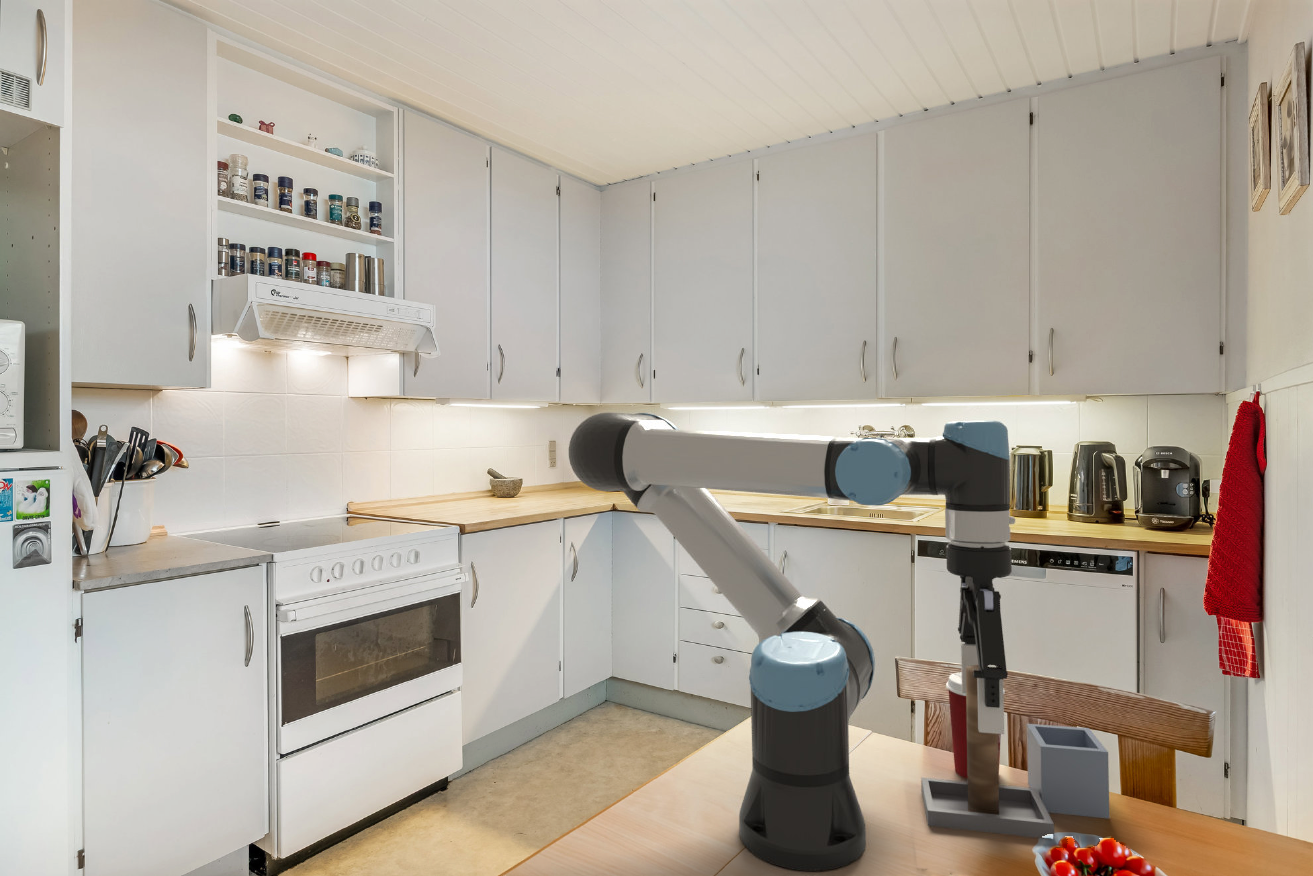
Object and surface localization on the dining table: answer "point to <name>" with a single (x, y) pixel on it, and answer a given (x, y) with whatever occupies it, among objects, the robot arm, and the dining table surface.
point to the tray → (1015, 817)
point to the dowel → (980, 756)
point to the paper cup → (960, 723)
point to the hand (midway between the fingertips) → (981, 711)
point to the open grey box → (1068, 770)
